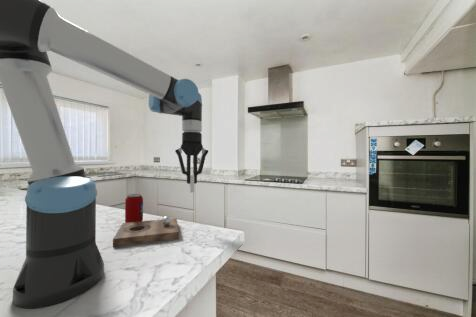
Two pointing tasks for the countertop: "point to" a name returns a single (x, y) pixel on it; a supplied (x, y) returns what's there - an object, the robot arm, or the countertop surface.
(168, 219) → the ball
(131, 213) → the beverage can
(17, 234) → the countertop surface
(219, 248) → the countertop surface
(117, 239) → the block
